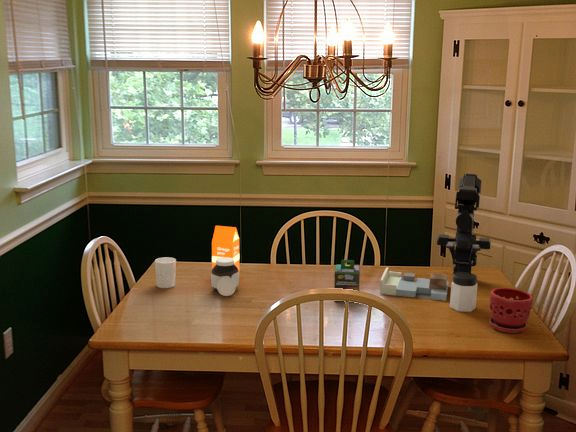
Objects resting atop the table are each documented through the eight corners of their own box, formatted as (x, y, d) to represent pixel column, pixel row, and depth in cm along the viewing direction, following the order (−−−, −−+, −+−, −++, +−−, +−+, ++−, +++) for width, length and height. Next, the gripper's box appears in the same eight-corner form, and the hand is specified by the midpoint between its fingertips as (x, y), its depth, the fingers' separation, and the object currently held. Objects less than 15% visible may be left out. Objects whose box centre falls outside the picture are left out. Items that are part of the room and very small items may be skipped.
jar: (480, 310, 236) (483, 277, 233) (461, 313, 233) (464, 280, 230) (463, 302, 244) (465, 270, 241) (445, 305, 241) (447, 273, 238)
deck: (448, 287, 260) (449, 273, 258) (445, 301, 245) (447, 286, 243) (385, 280, 266) (386, 267, 265) (379, 294, 251) (380, 279, 250)
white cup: (151, 287, 254) (150, 261, 252) (162, 280, 262) (162, 256, 259) (169, 290, 252) (168, 264, 249) (180, 283, 259) (179, 258, 256)
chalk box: (359, 294, 250) (360, 256, 247) (359, 303, 241) (360, 263, 238) (334, 293, 251) (335, 255, 248) (333, 301, 242) (334, 262, 239)
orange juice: (232, 279, 265) (232, 229, 260) (211, 276, 267) (211, 227, 263) (239, 273, 272) (239, 225, 268) (219, 270, 275) (218, 223, 270)
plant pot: (520, 339, 212) (523, 303, 210) (480, 328, 221) (483, 293, 218) (535, 327, 222) (539, 292, 219) (497, 317, 230) (500, 283, 228)
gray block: (414, 283, 262) (415, 273, 262) (413, 286, 259) (414, 276, 258) (404, 282, 264) (404, 272, 263) (402, 285, 260) (403, 275, 259)
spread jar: (229, 284, 259) (228, 255, 257) (248, 291, 251) (248, 261, 249) (204, 291, 251) (203, 261, 248) (223, 299, 243) (223, 268, 241)
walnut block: (446, 284, 255) (447, 274, 254) (445, 290, 249) (446, 279, 248) (430, 283, 256) (431, 273, 255) (429, 288, 250) (429, 278, 250)
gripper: (437, 226, 239) (434, 268, 243) (492, 230, 235) (488, 273, 238) (439, 219, 250) (436, 259, 254) (491, 223, 245) (488, 264, 249)
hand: (461, 264), depth 248 cm, fingers open, 5 cm apart
